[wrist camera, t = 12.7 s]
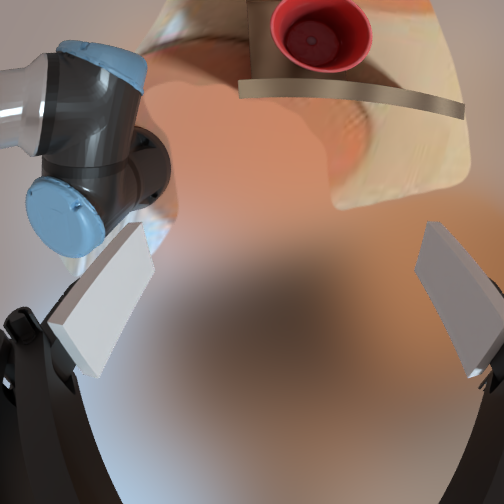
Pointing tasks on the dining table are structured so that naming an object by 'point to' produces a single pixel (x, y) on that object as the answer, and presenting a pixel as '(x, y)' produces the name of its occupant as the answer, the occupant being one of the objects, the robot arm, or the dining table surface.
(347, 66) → the flower pot
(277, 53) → the small wooden stand
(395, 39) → the dining table surface
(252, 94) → the wooden board
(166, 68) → the dining table surface
